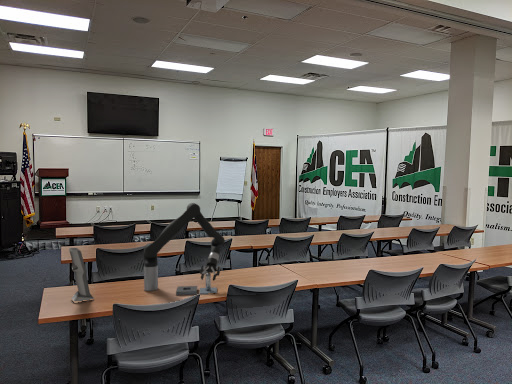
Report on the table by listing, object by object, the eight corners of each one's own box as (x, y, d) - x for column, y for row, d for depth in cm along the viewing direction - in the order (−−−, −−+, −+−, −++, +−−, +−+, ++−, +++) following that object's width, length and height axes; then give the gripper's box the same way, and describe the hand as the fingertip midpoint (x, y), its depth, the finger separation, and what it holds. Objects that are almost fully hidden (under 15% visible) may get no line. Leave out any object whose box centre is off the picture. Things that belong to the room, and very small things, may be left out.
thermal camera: (70, 299, 253) (68, 247, 251) (90, 295, 260) (89, 245, 258) (73, 304, 243) (71, 250, 241) (94, 300, 251) (92, 248, 249)
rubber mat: (199, 294, 262) (199, 293, 262) (200, 289, 274) (200, 287, 274) (216, 293, 264) (216, 292, 264) (216, 288, 276) (216, 287, 276)
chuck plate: (176, 295, 260) (176, 291, 260) (177, 289, 272) (177, 286, 272) (196, 294, 262) (196, 291, 262) (197, 289, 274) (197, 285, 274)
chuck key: (205, 291, 267) (205, 274, 266) (205, 289, 271) (205, 273, 270) (210, 290, 267) (210, 274, 267) (210, 289, 271) (210, 272, 270)
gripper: (202, 256, 277) (196, 276, 266) (221, 257, 273) (215, 277, 263) (205, 262, 282) (199, 281, 272) (223, 263, 279) (218, 283, 268)
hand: (207, 279), depth 267 cm, fingers open, 8 cm apart
